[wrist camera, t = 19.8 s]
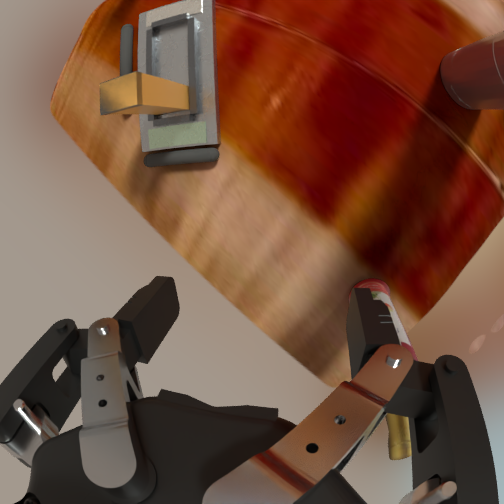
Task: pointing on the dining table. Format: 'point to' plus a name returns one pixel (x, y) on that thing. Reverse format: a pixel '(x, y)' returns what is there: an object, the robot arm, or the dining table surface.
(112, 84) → the tan wooden block
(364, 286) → the liquor
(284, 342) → the dining table surface
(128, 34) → the grey rounded rod
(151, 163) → the dark grey rounded bar
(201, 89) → the panel
